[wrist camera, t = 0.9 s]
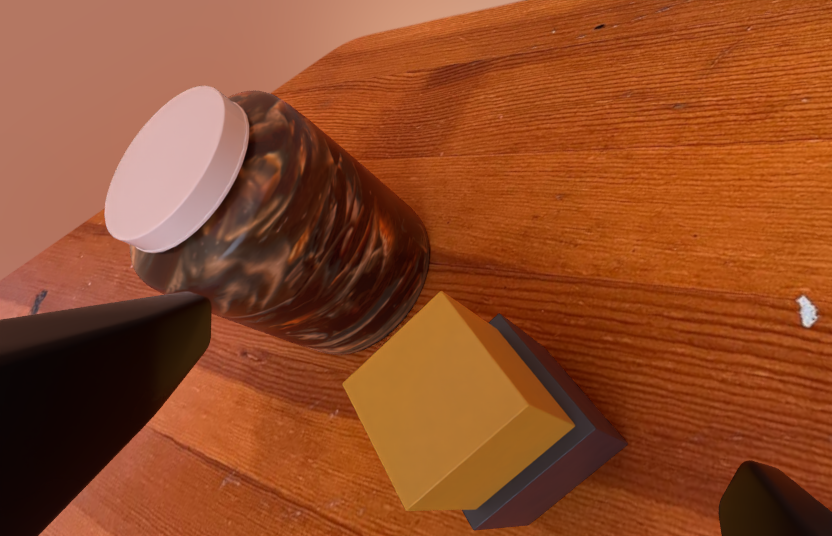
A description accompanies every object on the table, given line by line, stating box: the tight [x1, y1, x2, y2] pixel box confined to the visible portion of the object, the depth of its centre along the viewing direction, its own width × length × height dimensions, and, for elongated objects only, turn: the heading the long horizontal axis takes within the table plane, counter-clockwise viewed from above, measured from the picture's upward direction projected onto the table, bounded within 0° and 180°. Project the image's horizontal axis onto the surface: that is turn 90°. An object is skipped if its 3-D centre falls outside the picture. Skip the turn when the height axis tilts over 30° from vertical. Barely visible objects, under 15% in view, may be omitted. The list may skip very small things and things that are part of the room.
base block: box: [462, 314, 628, 530], centre depth 22 cm, size 6×6×6 cm
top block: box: [343, 291, 575, 511], centre depth 18 cm, size 5×5×5 cm
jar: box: [105, 86, 429, 355], centre depth 29 cm, size 12×12×15 cm
